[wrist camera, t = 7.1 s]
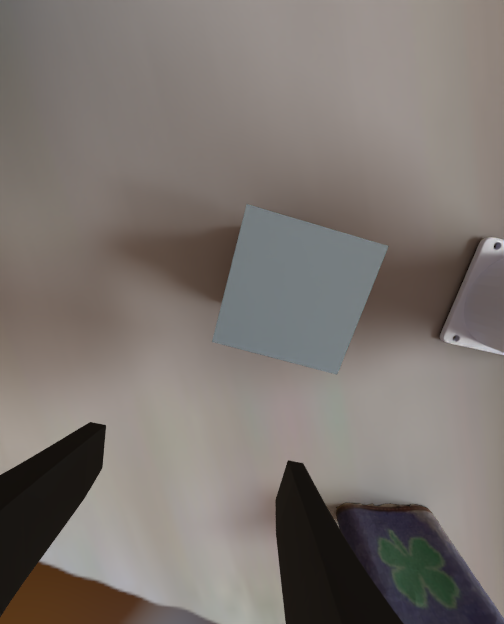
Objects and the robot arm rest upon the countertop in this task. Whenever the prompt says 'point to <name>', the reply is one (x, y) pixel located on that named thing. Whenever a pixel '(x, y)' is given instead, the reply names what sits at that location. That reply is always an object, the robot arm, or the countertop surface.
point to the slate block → (296, 290)
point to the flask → (415, 565)
